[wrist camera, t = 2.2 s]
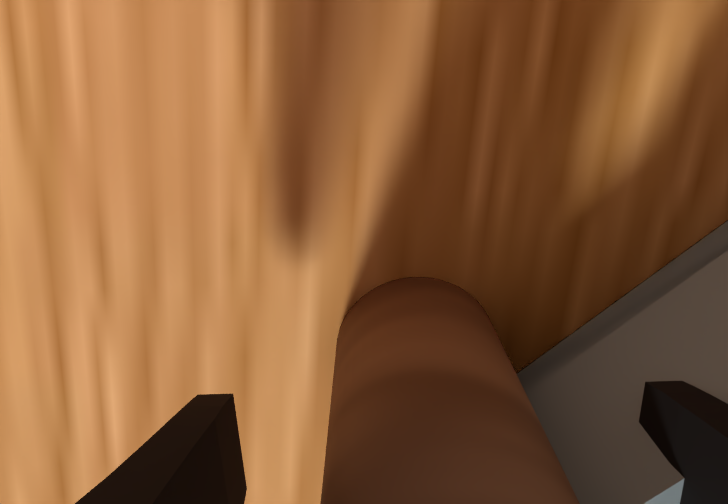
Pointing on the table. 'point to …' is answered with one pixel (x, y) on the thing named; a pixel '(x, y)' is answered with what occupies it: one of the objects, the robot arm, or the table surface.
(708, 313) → the bore box
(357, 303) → the peg
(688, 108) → the table surface
